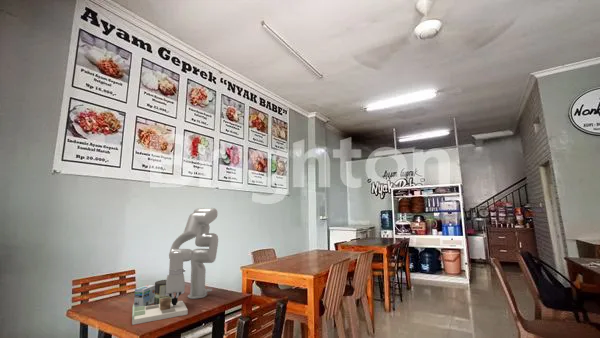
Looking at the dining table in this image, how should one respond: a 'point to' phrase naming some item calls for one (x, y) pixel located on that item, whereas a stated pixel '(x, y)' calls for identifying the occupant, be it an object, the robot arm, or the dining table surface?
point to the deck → (157, 312)
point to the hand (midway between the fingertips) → (174, 304)
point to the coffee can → (160, 291)
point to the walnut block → (165, 303)
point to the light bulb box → (144, 295)
